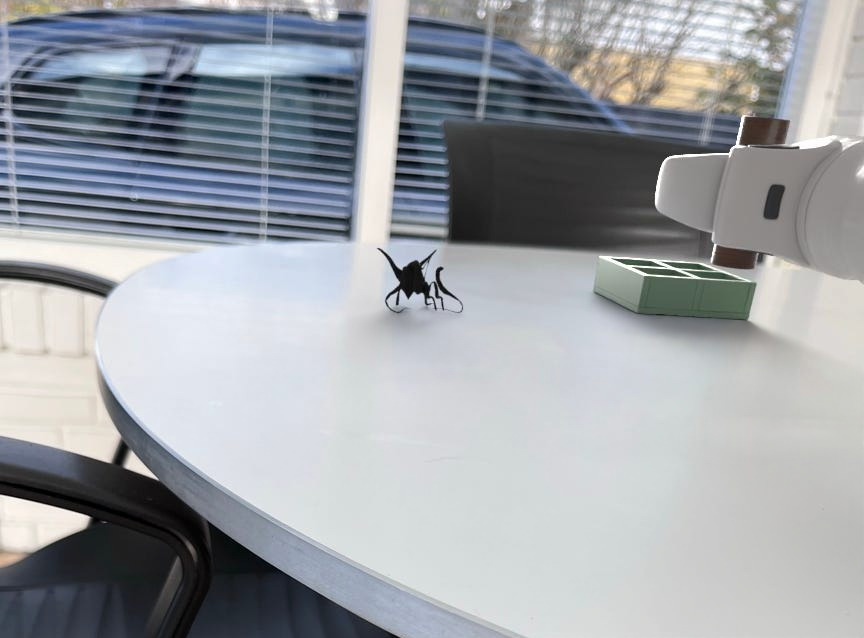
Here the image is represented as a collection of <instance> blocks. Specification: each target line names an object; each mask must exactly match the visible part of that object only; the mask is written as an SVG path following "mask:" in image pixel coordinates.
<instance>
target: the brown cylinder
mask: <svg viewBox="0 0 864 638" xmlns="http://www.w3.org/2000/svg"><path fill="white" fill-rule="evenodd" d="M790 124H791V120H790V119H783V118H773V117H763V116H754V115H753V116H752V115H742V117H741V122H740V127H739V130H738V135H737V140H736V145H735V146H737V145H740V146H749V145H781V144H786V142H787V137H788V132H789V128H790V126H791V125H790ZM759 254H760V253H755V252H749V251H742V250H736V249H731V248H728V247H722V246H719V245H716V244H714V243H713V247H712V253H711V257H710V264H711V265H713V266H718V267H722V268H726V269H735V270H746V271H747V270H749V271H751V270H755V269H756V266H757V263H758V262H757V261H758V257H759Z"/></svg>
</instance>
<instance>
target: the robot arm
mask: <svg viewBox="0 0 864 638" xmlns="http://www.w3.org/2000/svg"><path fill="white" fill-rule="evenodd" d="M654 198H655V199H654V204H655V205H654V206H655V208H656V210H657V211H658V212H659V213H660V214H662V215H663V216H665V217H667V218H669V219H672V220H674V221H675V222H678V223H679V224H683V225H685V226H688V227H690V228H692V229H696V230H699V231H702V232H705V233H710V234H711V243H713V245H714V244H716V245H719V246H722V247H728V248H731V249H736V250H742V251H749V252H755V253H759V254H761V255H766V256H770V257H775V258H777V259H780V260H782V261H784V262H786V263H788V264H790V265H795V266H797V267H801V268H805V269H808V270H811V271H814V272H818V273H821V274H824V275H826V276H831V277H833V278H836V279H841V280H845V281H858V282H859V283H861V284H863V285H864V136H862V135H855V134H854V135H853V134H834V135H829V136H826V137H824V138H823V137H822V138H815V139H809V140H805V141H800V142H796V143H790V144H789V143H788V144H786V143H785V144H781V145H749V146H740V145H737V146H736V145H734V146H732V147H731V148H730V151H729V153H728V152H727V153H701V154H683V155H682V154H681V155H672V156H669V157H667V158H665V159H664V161H663V162H662V164H661V167H660V170H659V173H658V179H657V183H656V191H655V197H654Z"/></svg>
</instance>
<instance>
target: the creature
mask: <svg viewBox="0 0 864 638" xmlns="http://www.w3.org/2000/svg"><path fill="white" fill-rule="evenodd" d="M376 250H378V251H379V252H380V253H382V255H383V256H384V257H385V259H386V260H387V261H388V263H389V265H390V267H391V269H392V271H393V274H394V276H395V278H396V279H397V281H398V282H399V284H398V285H397V286H396V287H395V288H394V289H392V290H391V291H390V292H388V294H387V295H386V296H385V299H384V303H385V306H386V307H387V309H388V310H390V311H391V312H393V313H395V314H400V313H402V312H403V311H404V310H409V309H412V308H411V307H405V306H402V305H400V294H401V291H402V292H403V293H404V295H405V298H406V299H407V300H408V301H409V299H410V298H411V297H412V295H413V294H414V293H415V295H417V296H418V295H421V294H423V298H424V299H423V300H424V304H425V306H428V307H429V306H431V305H433V308H431V309H434V311H436V312H437V311H438V310H442V311H443V312H444V311H445V310H446V311H449V312H451V313H455V314H460V313H462V312H463V310H464V305H463V303H462V301H461V300H460V298H458V297H457V296H456V295H454V294H453V293H452V292H450V291H449V290H448V289H447V288H446V287H445V286H444V284H443V282H442V280H441V271H444V269H445V268H444V267H443V266H438V267H437V268H436V270H435V274H434V275H435V281H434V280H433V281H431V282H430V283H428V281H426V274H427V271H428V267H429V263H430V261H431V259H432V257H433V256H434V255H435V253H436V252H437V250H438V249H435V250H433V252H431V253H430V254H429V255H428V256H426V257H425V258H424V259H423V260H421V261H419V260H418V259H415V260H412V261H410V262H408V264H407V265H404V266H403V267H402V269H401V268H399V267H398V266H397V265H396V263H395V261H394V260H393V258H392V257H391V256H390V255H389V253H387V251H384V250H383V249H382V248H380V247H377V248H376ZM426 265H427V267H426ZM425 267H426V271H425V273H424V274H423V270H424V269H425ZM432 284H433V288H434V296H435V297H433V296H432V295H430V294H431V291H432V290H431V288H432ZM439 291H440V292H441V293H442V294H443V295H446V296H449V297H450V298H452V299H454V300H456V301H458V302H459V303H460V305H461V310H460V311H454V310H450V309H447V308H445V306H444V298H443V296H442V295H440V294H439ZM394 294H396V299H395V306H397V307H398V306H400V307H401V308H402V309H400V310H399V311H397V310H394V309H393V308H391V307H390V306H389V304H388V300H389V299H390V298H391V296H392V295H394ZM429 299H432V301H433V303H432V302H430V303H428V300H429ZM436 300H440V304H441V307H437V304H436ZM437 309H438V310H437Z"/></svg>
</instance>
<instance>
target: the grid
mask: <svg viewBox="0 0 864 638" xmlns="http://www.w3.org/2000/svg"><path fill="white" fill-rule="evenodd" d="M757 284H758V283H757V282H755V281H754V280H750V279H747V278H744V277H742V276H739V275H737V274H734V273H731V272H729V271H725V270H724V269H723V270H722V269H720V268H717V267H714V266H711V265H709V264H706V263H703V262H694V261H693V262H692V261H677V260H663V259H661V260H660V259H646V258H634V257H633V258H632V257H619V256H604V255H599V256H598V259H597V266H596V271H595V277H594V283H593V289H592V291H593V292H594V293H596V294H598V295H600V296H602V297H605V298H606V299H608V300H610V301H612V302H614V303H616V304H618V305H620V306H622V307H624V308H625V309H628V310H630V311H631V312H634V313H636V314H640V315H656V314H664V315H663V316H674V315H676V316H677V315H678V316H677V317H693V316H694V317H695V318H709V317H710V318H713V319H728V320H729V319H730V320H746V321H747V320H748V321H749V318H750V313H751V308H752V305H753V300H754V297H755V293H756V288H757ZM665 314H666V315H665Z"/></svg>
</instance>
